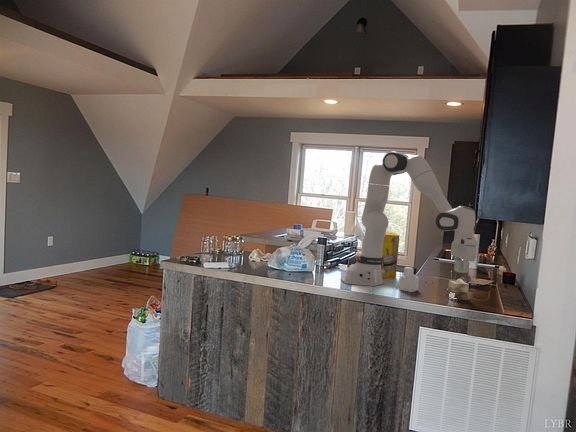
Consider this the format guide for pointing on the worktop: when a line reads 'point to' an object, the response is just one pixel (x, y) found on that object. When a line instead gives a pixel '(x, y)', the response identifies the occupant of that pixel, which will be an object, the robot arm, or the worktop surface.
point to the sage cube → (460, 267)
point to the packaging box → (390, 255)
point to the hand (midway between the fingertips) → (461, 267)
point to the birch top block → (458, 286)
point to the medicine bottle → (409, 280)
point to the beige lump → (459, 294)
